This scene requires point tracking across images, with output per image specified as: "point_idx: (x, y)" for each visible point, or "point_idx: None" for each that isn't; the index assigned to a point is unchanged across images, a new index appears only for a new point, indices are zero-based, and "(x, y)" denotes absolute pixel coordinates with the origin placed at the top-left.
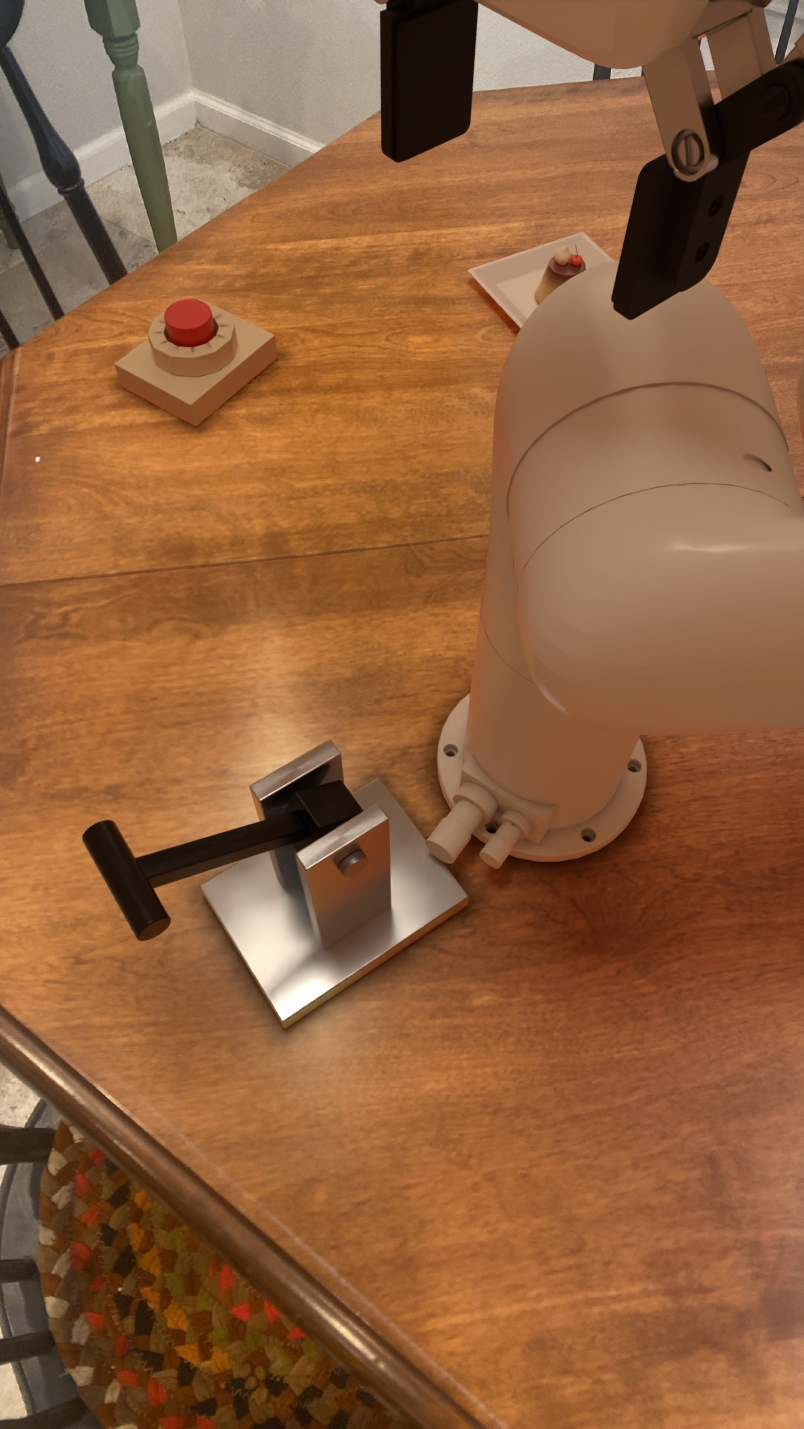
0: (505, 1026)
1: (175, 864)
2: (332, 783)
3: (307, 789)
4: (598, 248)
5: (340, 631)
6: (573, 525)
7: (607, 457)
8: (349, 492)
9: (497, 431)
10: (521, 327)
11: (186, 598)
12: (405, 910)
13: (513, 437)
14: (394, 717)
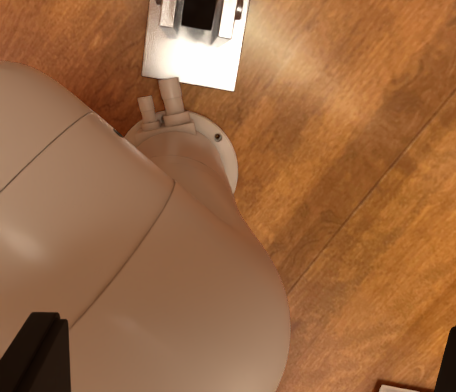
0: (76, 38)
1: None
2: (210, 22)
3: (215, 2)
4: None
5: (328, 150)
6: (32, 149)
7: (54, 223)
8: (398, 226)
9: (248, 240)
10: (404, 389)
11: (419, 95)
12: (159, 41)
13: (198, 220)
14: (260, 132)
